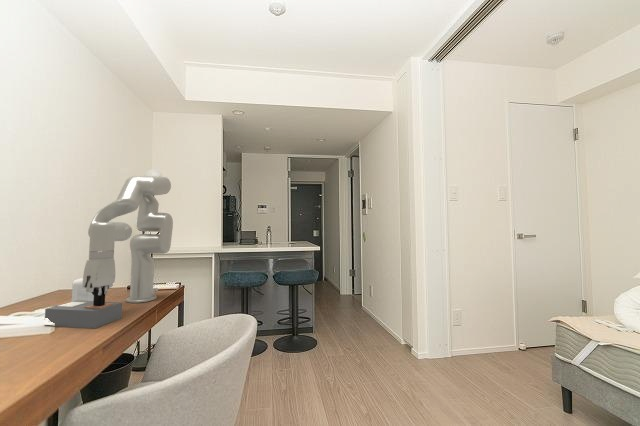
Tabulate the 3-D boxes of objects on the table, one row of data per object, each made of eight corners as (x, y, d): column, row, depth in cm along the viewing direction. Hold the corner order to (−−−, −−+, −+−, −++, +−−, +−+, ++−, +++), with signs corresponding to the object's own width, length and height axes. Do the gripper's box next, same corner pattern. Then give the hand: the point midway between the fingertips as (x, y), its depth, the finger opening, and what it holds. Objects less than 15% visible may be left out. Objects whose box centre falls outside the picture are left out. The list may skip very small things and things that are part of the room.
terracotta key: (98, 314, 113) (98, 302, 113) (112, 315, 112) (113, 303, 112) (84, 319, 107) (84, 307, 107) (99, 320, 106) (100, 307, 106)
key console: (75, 315, 117) (76, 300, 117) (121, 318, 115) (122, 302, 115) (44, 325, 105) (45, 308, 105) (95, 328, 103) (96, 311, 103)
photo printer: (101, 304, 133) (102, 277, 134) (95, 307, 129) (96, 278, 130) (75, 305, 132) (77, 277, 133) (69, 307, 128) (70, 278, 128)
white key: (71, 313, 114) (72, 301, 114) (86, 314, 113) (86, 302, 113) (56, 318, 108) (57, 305, 108) (71, 319, 107) (72, 306, 107)
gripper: (108, 253, 118) (106, 300, 117) (73, 257, 103) (70, 310, 102) (125, 254, 117) (123, 301, 117) (93, 257, 103) (90, 311, 102)
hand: (99, 305), depth 109 cm, fingers closed
